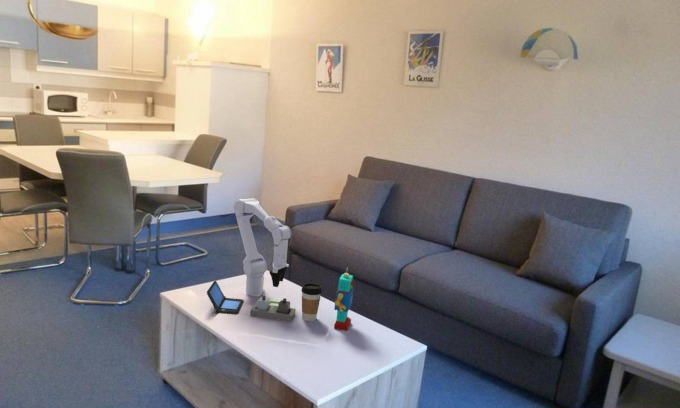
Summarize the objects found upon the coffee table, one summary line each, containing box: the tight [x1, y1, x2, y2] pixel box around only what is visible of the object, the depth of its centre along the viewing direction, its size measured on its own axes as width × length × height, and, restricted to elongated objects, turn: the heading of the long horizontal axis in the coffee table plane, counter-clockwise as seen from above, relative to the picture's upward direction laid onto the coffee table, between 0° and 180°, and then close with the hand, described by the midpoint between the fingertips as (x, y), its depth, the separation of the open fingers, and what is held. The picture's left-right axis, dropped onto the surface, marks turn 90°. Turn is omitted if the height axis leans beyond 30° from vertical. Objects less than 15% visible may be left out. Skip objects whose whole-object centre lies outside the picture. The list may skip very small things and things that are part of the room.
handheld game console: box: [206, 280, 245, 315], centre depth 221 cm, size 16×13×9 cm
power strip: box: [249, 302, 296, 322], centre depth 217 cm, size 8×17×3 cm, turn 82°
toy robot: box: [333, 267, 354, 332], centre depth 212 cm, size 12×6×25 cm, turn 168°
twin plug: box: [278, 297, 291, 314], centre depth 216 cm, size 4×4×8 cm
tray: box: [269, 299, 280, 306], centre depth 226 cm, size 8×8×1 cm
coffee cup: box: [301, 282, 323, 322], centre depth 216 cm, size 8×8×15 cm
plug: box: [256, 294, 271, 311], centre depth 217 cm, size 4×4×8 cm
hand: (277, 283), depth 228 cm, fingers open, 7 cm apart
